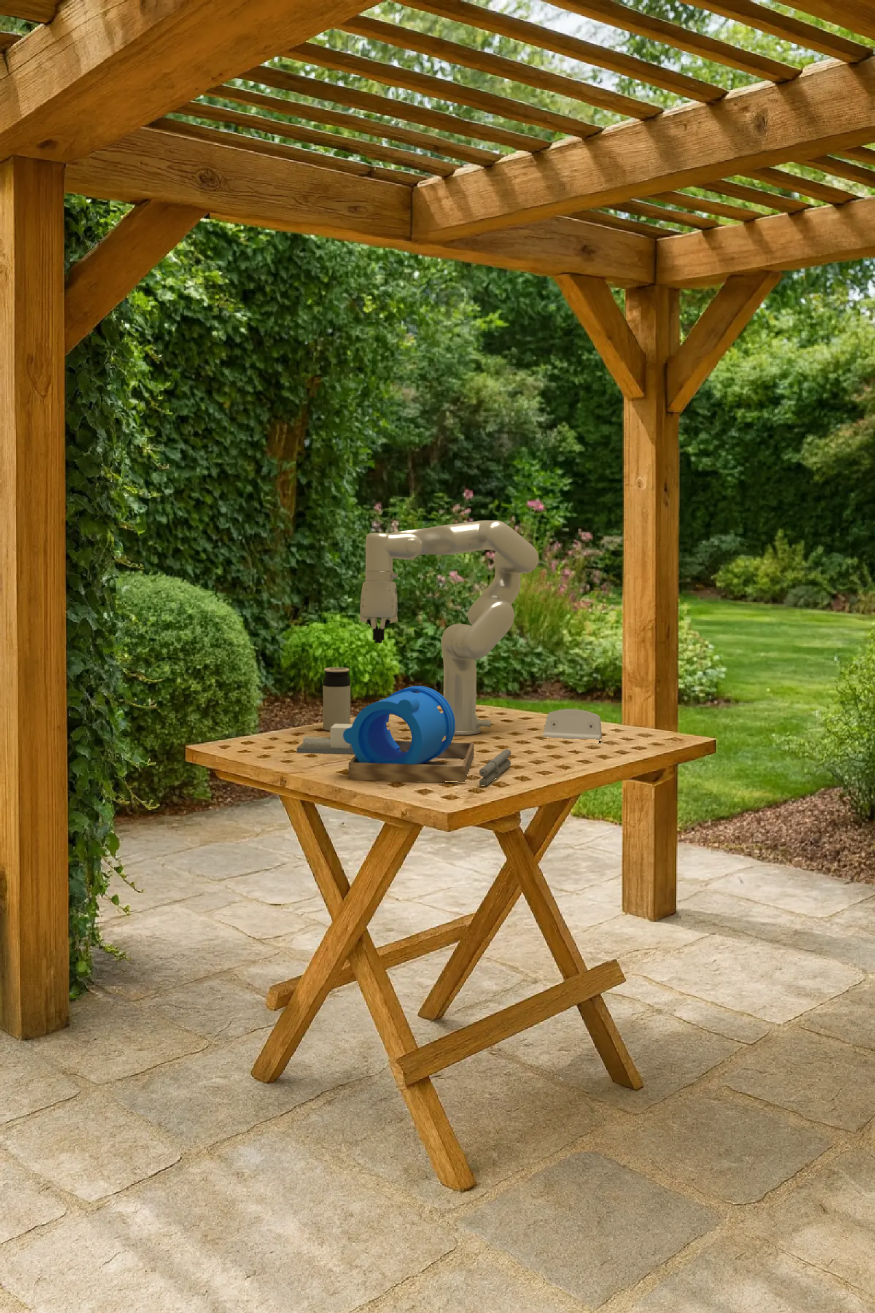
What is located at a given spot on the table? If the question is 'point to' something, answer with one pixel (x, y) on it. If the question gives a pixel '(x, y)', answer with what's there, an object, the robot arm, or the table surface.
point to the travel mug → (336, 697)
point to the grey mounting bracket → (573, 725)
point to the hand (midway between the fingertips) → (378, 642)
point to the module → (339, 736)
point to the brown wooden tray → (416, 767)
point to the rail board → (321, 746)
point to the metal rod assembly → (495, 767)
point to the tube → (419, 715)
